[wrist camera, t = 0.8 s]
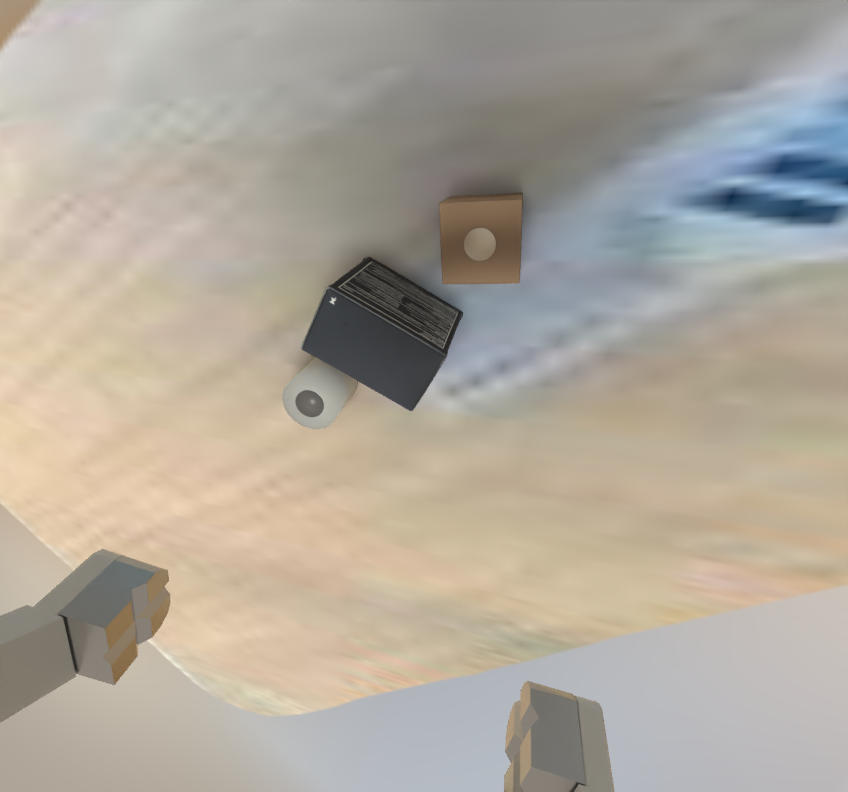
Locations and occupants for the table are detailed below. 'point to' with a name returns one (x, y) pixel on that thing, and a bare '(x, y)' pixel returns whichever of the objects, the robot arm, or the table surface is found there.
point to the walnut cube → (481, 238)
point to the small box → (383, 332)
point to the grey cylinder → (317, 394)
